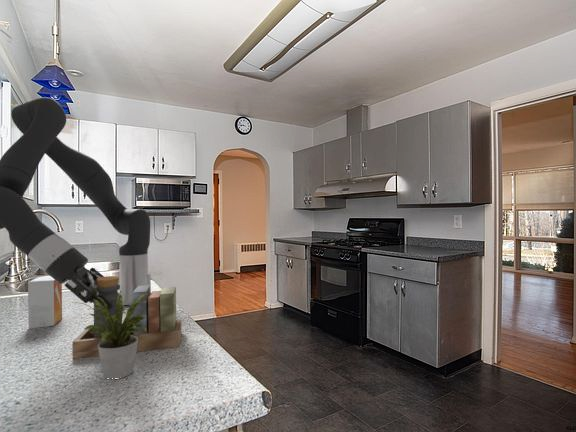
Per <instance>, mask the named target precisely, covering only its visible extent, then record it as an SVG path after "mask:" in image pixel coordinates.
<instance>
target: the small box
mask: <svg viewBox="0 0 576 432" xmlns="http://www.w3.org/2000/svg"><path fill="white" fill-rule="evenodd" d="M27 295H28V296H27V300H28V301H27V303H28V304H27V305H28V307H27V308H28V309H27V310H28V311H27V312H28V329H36V328H46V327H47V328H48V327H53V326H55V325H56V324H57V323H58V322H59V321H60V320H61V319H63V284H60V283H58V282H57V281H56V280H55V279H53V278H52V277H51V276H38V277H36V278H34V279H32V280H30V281H28V282H27Z"/></svg>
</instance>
